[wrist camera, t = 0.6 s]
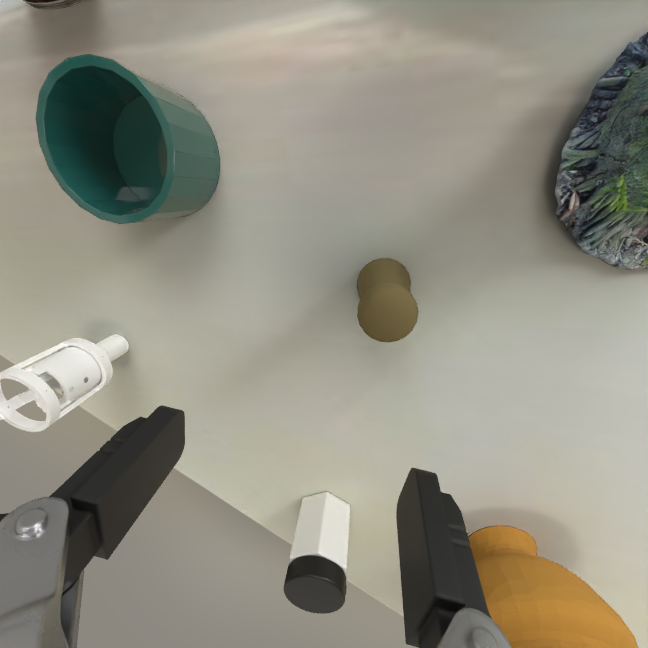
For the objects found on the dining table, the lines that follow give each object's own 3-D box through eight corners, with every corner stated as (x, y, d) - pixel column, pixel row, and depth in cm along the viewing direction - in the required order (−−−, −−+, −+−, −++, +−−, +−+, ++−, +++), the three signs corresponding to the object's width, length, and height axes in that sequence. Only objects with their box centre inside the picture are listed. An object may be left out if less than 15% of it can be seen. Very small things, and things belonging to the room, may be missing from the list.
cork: (351, 303, 37) (344, 344, 27) (363, 253, 35) (360, 277, 25) (402, 314, 37) (413, 359, 27) (417, 264, 35) (436, 293, 24)
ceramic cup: (96, 98, 33) (10, 68, 25) (205, 79, 31) (148, 41, 23) (133, 221, 37) (71, 228, 29) (230, 211, 35) (190, 217, 27)
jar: (313, 531, 54) (299, 617, 43) (290, 499, 52) (269, 581, 41) (361, 521, 51) (358, 610, 40) (339, 486, 49) (330, 571, 38)
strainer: (85, 331, 44) (-43, 392, 31) (121, 313, 42) (1, 371, 29) (116, 371, 46) (8, 446, 33) (151, 357, 44) (53, 430, 31)
